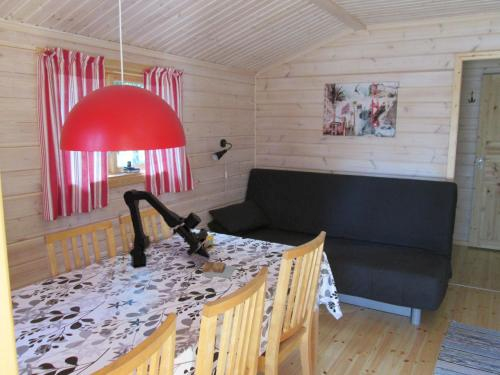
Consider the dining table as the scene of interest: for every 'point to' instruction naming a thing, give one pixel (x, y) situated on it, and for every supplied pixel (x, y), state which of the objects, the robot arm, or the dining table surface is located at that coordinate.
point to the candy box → (208, 242)
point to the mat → (226, 273)
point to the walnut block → (213, 267)
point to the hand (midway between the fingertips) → (208, 257)
